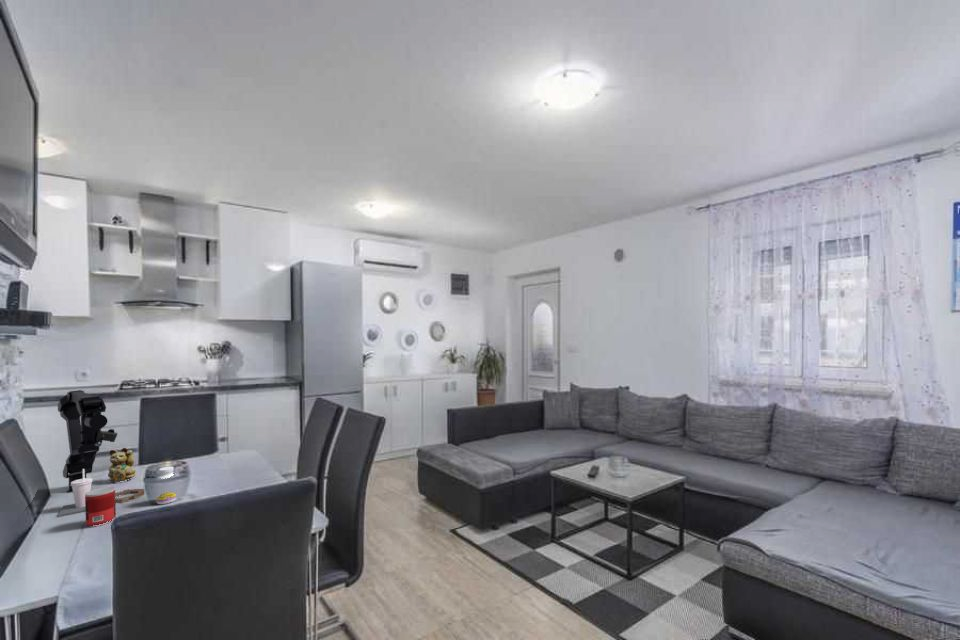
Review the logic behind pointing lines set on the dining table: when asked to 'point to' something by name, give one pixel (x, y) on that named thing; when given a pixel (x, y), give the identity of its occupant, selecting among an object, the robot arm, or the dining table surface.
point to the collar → (126, 499)
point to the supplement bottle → (166, 497)
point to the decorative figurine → (121, 465)
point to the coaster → (70, 510)
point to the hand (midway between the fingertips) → (91, 465)
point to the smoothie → (81, 490)
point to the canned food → (100, 506)
